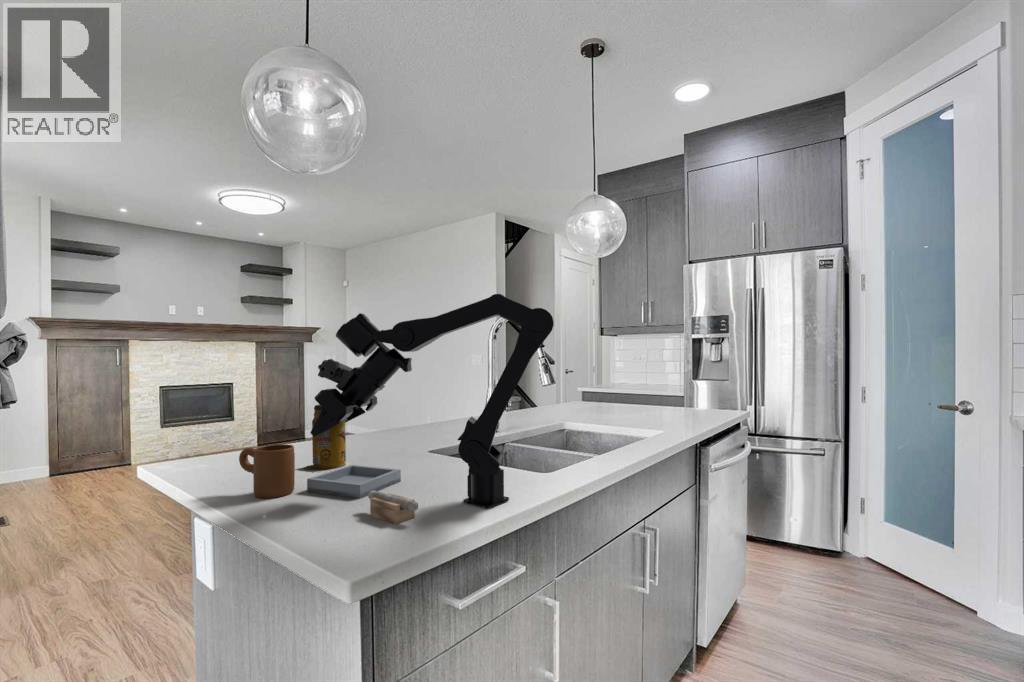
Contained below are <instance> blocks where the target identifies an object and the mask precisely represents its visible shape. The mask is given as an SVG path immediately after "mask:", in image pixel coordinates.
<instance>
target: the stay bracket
mask: <svg viewBox="0 0 1024 682" xmlns="http://www.w3.org/2000/svg"><path fill="white" fill-rule="evenodd" d="M367 497H368V499H370V503H369V505H370V506H369V508H370V511H369V513H370V517H374V518H377V519H380V520H383V521H386V522H390V523H392V524H396V525H397V524H400V523H402V522H405V521H408V520H412V519H414V518H415V512H416V511H418V509H419V503H418V502H417V501H415V499H412V498H409V497H404V496H400V495H396V494H393V493H391V492H390V493H385V492H382V491H373V490H372V491H370V492H369V494H368V495H367Z"/></svg>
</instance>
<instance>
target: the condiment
mask: <svg viewBox="0 0 1024 682" xmlns="http://www.w3.org/2000/svg"><path fill="white" fill-rule="evenodd" d="M313 409H314V410H313V411H314V413H313V419H312V421H311V424H312V425H311V429H312V428H313V426H314V424H315V422H316V421H317V419H318V417H319V415H320V412H321V405H320V404H319V403H318V404H315V405H314V407H313ZM311 435H312V434H311ZM311 438H312V439H311V441H312V464H310V465H307V466H303V467H299V468H296V469H295V471H298V472H305V473H312V474H314V473H317V474H324V473H327V472H330V471H334V470H337V469H340V468H343V467H346V466H349V465H355V464H356V462H355V461H353V462H352V461H351V462H348V461H347V459H346V458H347V455H346V454H347V451H346V447H347V446H346V445H347V444H346V423H345V421H344V422H342V423H340V424H338V425H336V426H334V427H332V428H330V429H328V430H326V431H324V432H322V433H321V434H319V435H317V436H313V435H312V437H311Z"/></svg>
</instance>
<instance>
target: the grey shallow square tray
mask: <svg viewBox="0 0 1024 682" xmlns="http://www.w3.org/2000/svg"><path fill="white" fill-rule="evenodd" d="M401 472H402V470H401V469H397V468H388V467H377V466H370V465H367V466H366V465H361V464H359V465H358V464H351V465H349V466H345V467H343V468H339V469H336V470H332V471H329V472H327V473H320V474H319V475H315V476H311V477H308V478H306V486H307V487H306V490H307V491H312V492H311V493H315V492H321V493H320V494H323V493H326V494H325V495H330V494H332V496H338V495H339V496H340V497H346V498H353V499H355V498H356V499H362V498H364V497H368V494H369V492H370V491H372V490H373V491H378V492H380V491H381V490H384V489H386V488H387V487H390V486H394V485H395V484H398V483H399V482H401V481H402V480H401V479H402V477H401V476H402V474H401Z"/></svg>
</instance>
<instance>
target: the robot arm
mask: <svg viewBox="0 0 1024 682" xmlns="http://www.w3.org/2000/svg"><path fill="white" fill-rule="evenodd" d="M495 317H501V318H502V319H504V320H507V321H508V322H509V323H510V322H511V323H512V324H514V325H516V326H517V327H520V329H519V333H518V337H517V340H516V343H515V346H514V349H513V351H512V353H511V355H510V357H509V360H508V362H507V363H506V365H505V367H504V370H503V371H502V373H501V375H500V377H499V379H498V381H497V383H496V385H495V387H494V389H493V391H492V393H491V395H490V396H489V399H488V401H487V402H486V405H485V407H484V409H483V410H482V412H481V414H480V415H479V417H478V418H477V419H476V418H475V417H473V416H470V417H469V418H468V420H467V421H466V424H465V428H464V430H463V432H462V433H461V434H460V436H459V437H458V438H457V441H460V442H459V445H458V454H459V457H460V458H461V459H462V461H463V462H465V463H466V464H467V465H468V475H467V481H466V482H467V498H464V499H463V500H462V503H464V504H469V505H473V506H477V507H481V508H485V509H491V508H492V507H493V508H494V507H496V506H498V505H500V504H502V503H505V502H507V501H510V497H509V496H505V482H504V481H505V477H504V475H505V473H504V472H505V469H502V468H501V467H500V465H501V461H502V458H503V453H502V452H501V451H500V450H499V449H498V448H496V447H495V445H493V443H494V439H495V436H496V433H497V429H498V425H499V423H500V420H501V417H502V416H503V414H504V411H505V410H506V408H507V406H508V404H509V402H510V400H511V399H512V396H513V394H514V392H515V390H516V388H517V386H518V384H519V383H520V380H521V379H522V377H523V374H524V373H525V370H526V369H527V367H528V365H529V363H530V361H531V359H532V357H533V356H534V355H535V353H537V351H538V349H540V347H541V345H542V344H543V343H544V342H545V340H546V339H547V338H548V337H549V335H550V334H551V332H552V331H553V329H554V324H555V323H554V321H555V320H554V317H553V316H552V314H551V313H550V311H548V310H546V309H545V308H542V307H535V308H530V307H528V306H526V305H525V304H521V303H520V302H517V301H514V300H512V299H509V298H508V297H506V296H505V295H504V294H500V293H494V294H492V295H491V296H489V297H486V298H484V299H481V300H479V301H475V302H472V303H469V304H467V305H464V306H461V307H459V308H456V309H453V310H450V311H448V312H445V313H442V314H440V315H436V316H431V317H425V318H416V319H411V320H405V321H404V320H403V321H400V322H397V323H396V324H394V326H392V328H389V329H381V330H380V329H379V328H378V327H377V326H376V325H375V324H374V323H373V322H372V321H371V320H370V319H369V317H368V316H367V315H366V314H365V313H360V312H359V313H358V314H357V315H356V316H355V317H353V318H351V319H350V320H348V321H347V322H346V323H343V324H342V325H341V326H340V327H339V329H337V332H336V333H335V338H337V339H338V340H339V342H341V343H342V344H343V345H344V346H345V347H346V348H347V349H348V350H349V351H350V352H351V353H352V354H353V355H355V357H357V358H359V357H361V356H363V357H364V358H366V357H367V359H366V360H364V362H363V363H362V364H361V365H360V366H359V367H358V366H357V367H353V368H352V367H350V366H348V365H346V364H343V363H341V362H339V361H336V360H334V359H333V358H329V359H324V360H322V363H321V364H318V366H317V368H318V370H319V371H318V373H317V376H318V377H319V378H321V379H326V380H329V381H332V382H334V383H336V385H335V387H336V388H326V389H321V390H320V391H319V392H318V393H317V394H316V395H315V396H314V401H315V402H317V404H318V405H319V404H320V405H321V412H320V415H319V417H318V419H317V421H316V422H315V424H314V426H313V428H312V427H311V430H310V435H313V436H317V435H319V434H321V433H322V432H324V431H326V430H328V429H330V428H332V427H334V426H336V425H338V424H340V423H342V422H344V421H345V424H346V423H347V422H350V421H352V420H354V419H356V418H357V417H358V418H359V417H360V416H362V415H364V414H366V412H370V411H372V410H373V409H374V408H375V407H376V405H378V397H377V396H376V394H377V393H378V392H379V391H383V389H384V388H385V387H386V386H385V385H386V383H387V382H388V381H390V379H391V378H392V377H393V376H394V375H395V374H396V373H397V372H398V371H399V369H401V370H402V371H403V372H404V373H408V372H409V373H410V372H412V370H413V368H412V360H413V359H412V357H405V356H403V355H402V354H401V353H400V352H403V353H404V352H405V353H413V352H417V351H420V350H422V349H423V348H425V347H427V346H428V345H430V344H432V343H433V342H435V341H436V340H438V339H440V338H442V337H444V335H447V334H450V333H451V334H452V333H453V332H455V331H459V330H462V329H465V328H467V327H470V326H474V325H476V324H479V323H482V322H485V321H487V320H490V319H493V318H495ZM386 344H388V345H390V344H391V345H392V346H393V348H391V349H390V348H389V347H388V346H386ZM340 391H341V392H340ZM363 407H366V408H365V409H363ZM490 507H491V508H490Z"/></svg>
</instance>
